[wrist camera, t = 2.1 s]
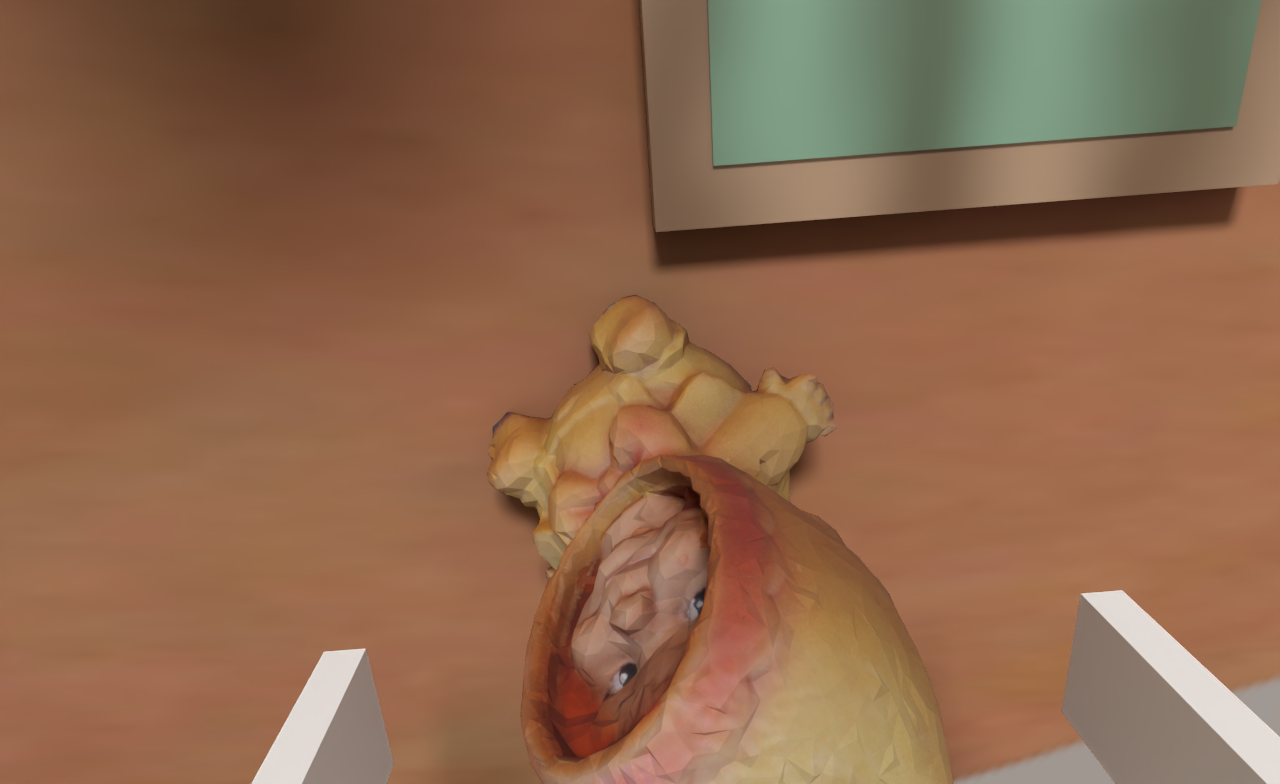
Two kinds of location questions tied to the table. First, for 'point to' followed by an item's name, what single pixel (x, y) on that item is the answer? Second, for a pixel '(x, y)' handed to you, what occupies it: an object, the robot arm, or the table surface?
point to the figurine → (701, 584)
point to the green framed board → (950, 104)
